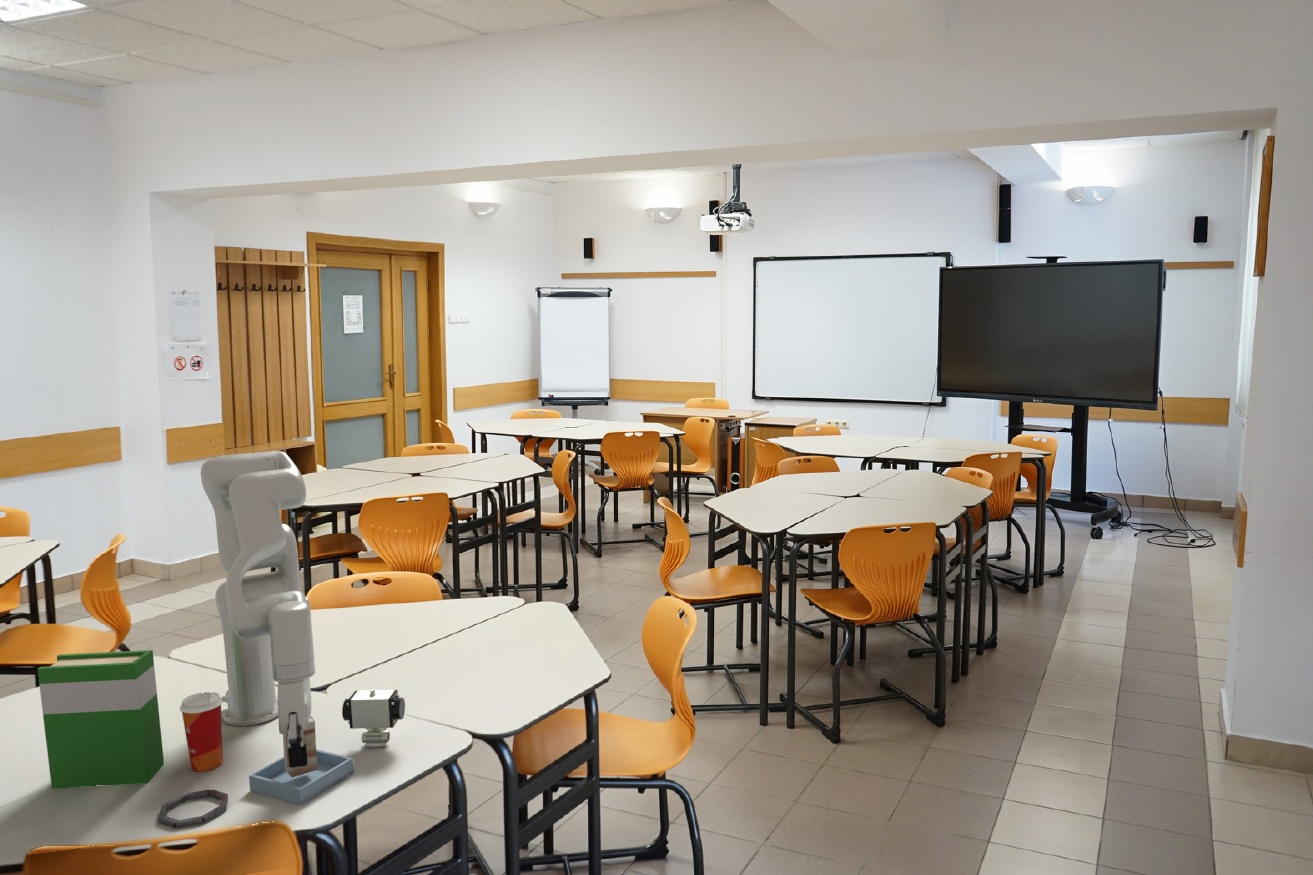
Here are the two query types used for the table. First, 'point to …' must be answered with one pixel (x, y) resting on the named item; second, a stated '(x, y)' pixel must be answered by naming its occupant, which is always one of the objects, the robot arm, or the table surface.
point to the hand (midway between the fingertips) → (300, 757)
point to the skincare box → (310, 746)
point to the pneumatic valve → (374, 714)
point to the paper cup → (203, 730)
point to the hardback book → (101, 719)
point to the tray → (301, 778)
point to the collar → (195, 820)
